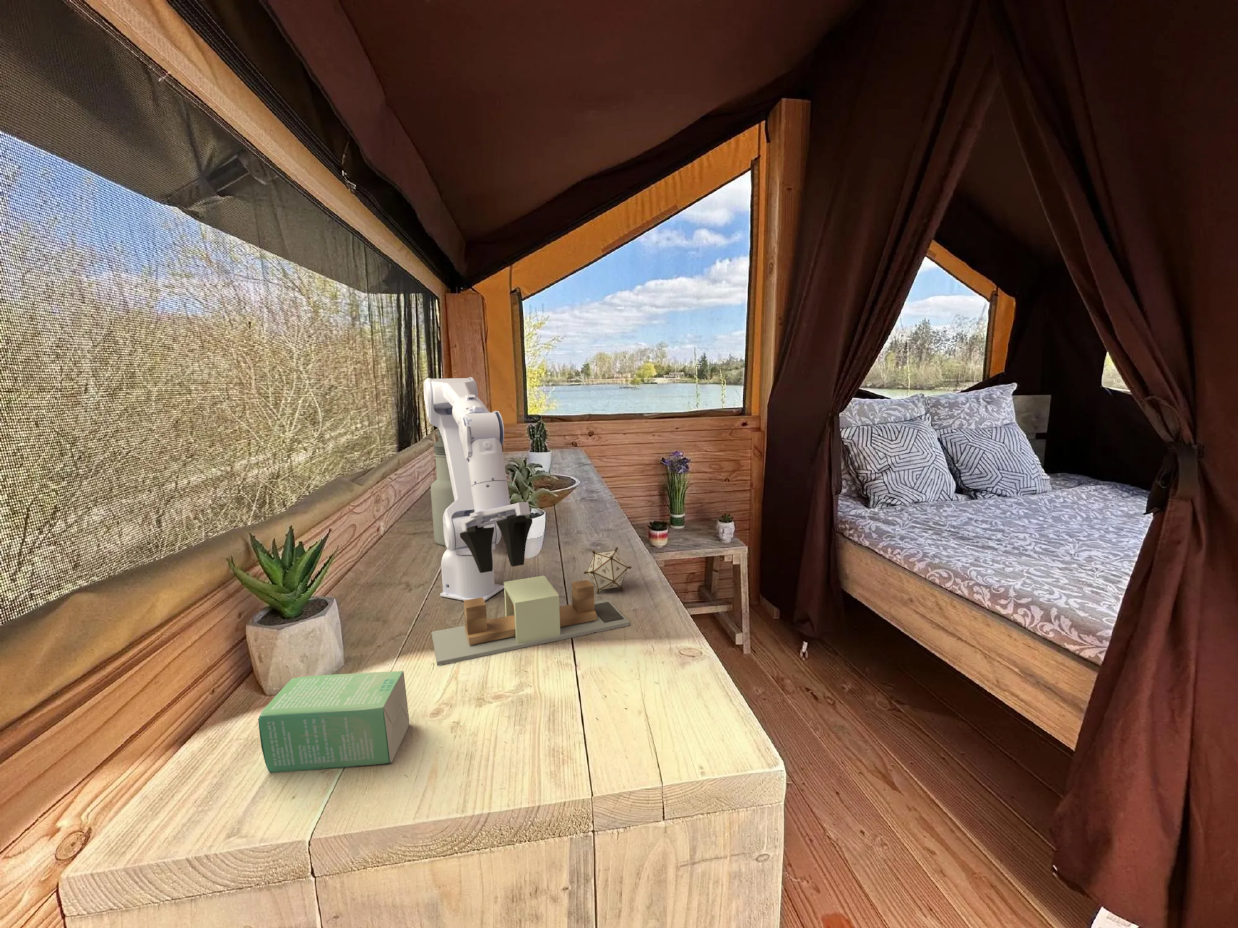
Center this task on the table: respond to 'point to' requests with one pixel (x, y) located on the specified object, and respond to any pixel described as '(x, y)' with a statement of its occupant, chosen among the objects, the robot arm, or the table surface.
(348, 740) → the box
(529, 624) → the tunnel
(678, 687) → the table surface
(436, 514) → the water bottle
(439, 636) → the track board
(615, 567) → the game die
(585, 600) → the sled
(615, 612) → the pit
